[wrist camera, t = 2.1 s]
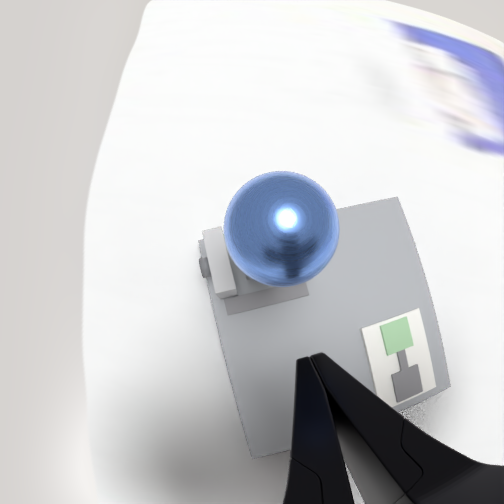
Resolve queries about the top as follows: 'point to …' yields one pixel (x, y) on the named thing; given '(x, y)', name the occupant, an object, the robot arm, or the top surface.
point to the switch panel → (329, 322)
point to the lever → (281, 229)
